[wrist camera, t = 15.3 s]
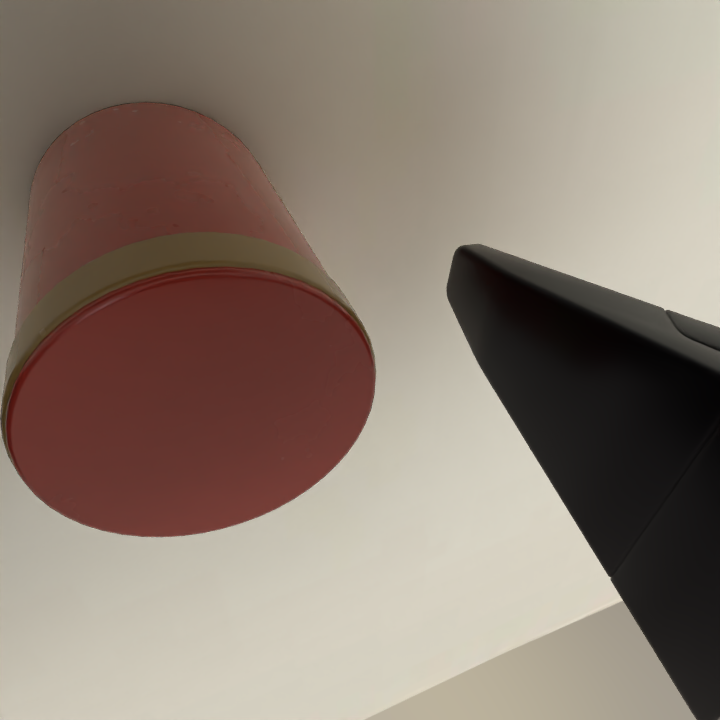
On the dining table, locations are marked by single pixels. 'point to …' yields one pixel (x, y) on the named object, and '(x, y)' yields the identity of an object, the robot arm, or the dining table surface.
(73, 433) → the tin
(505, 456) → the dining table surface
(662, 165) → the dining table surface
